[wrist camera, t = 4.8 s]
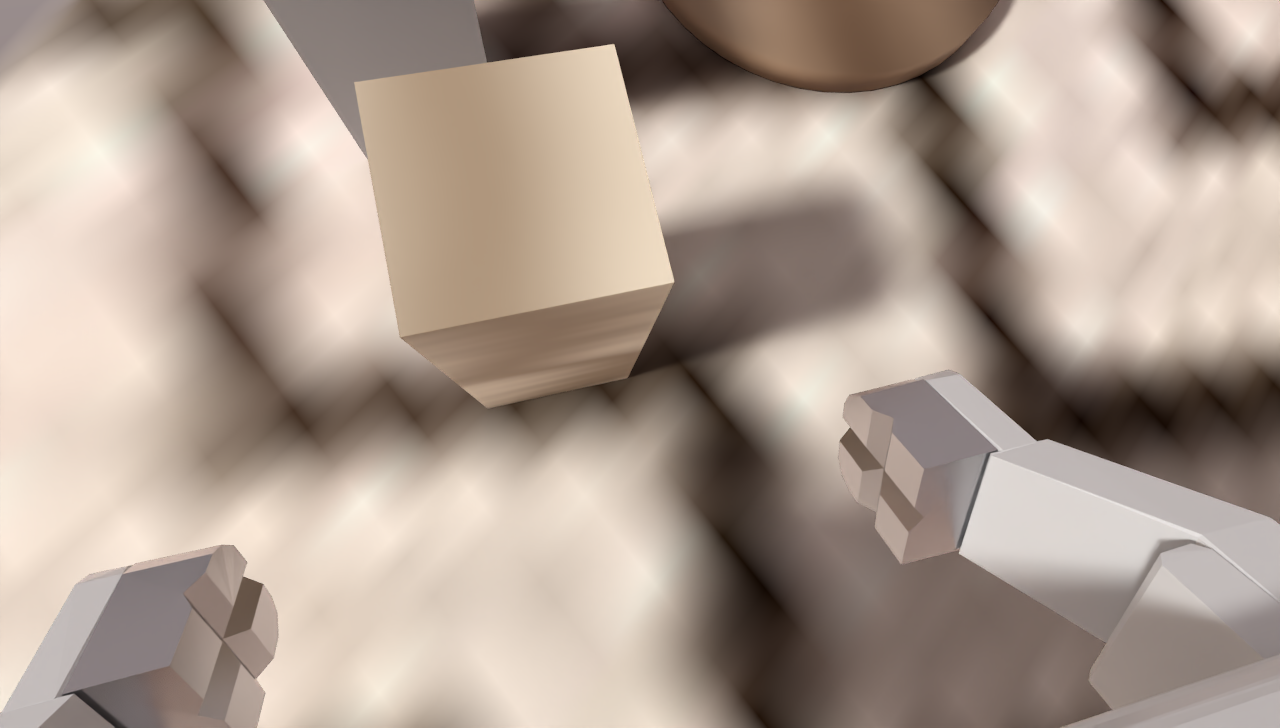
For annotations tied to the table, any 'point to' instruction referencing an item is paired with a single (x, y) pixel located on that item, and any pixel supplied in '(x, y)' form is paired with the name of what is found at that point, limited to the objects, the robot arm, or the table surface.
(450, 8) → the slate grey block
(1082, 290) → the table surface
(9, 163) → the table surface
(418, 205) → the birch block
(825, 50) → the walnut board
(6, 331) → the table surface
